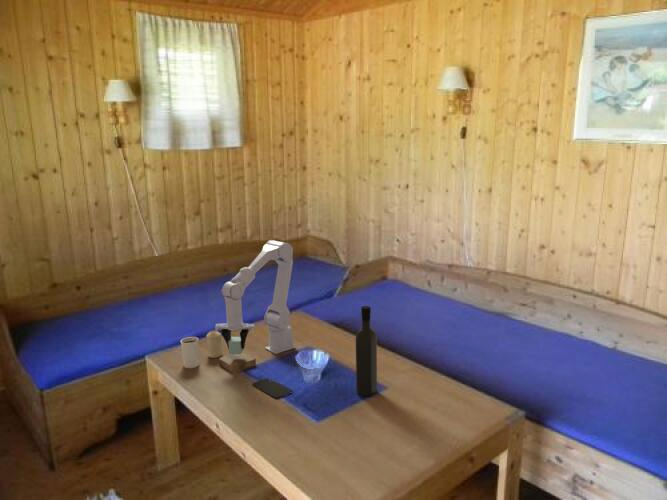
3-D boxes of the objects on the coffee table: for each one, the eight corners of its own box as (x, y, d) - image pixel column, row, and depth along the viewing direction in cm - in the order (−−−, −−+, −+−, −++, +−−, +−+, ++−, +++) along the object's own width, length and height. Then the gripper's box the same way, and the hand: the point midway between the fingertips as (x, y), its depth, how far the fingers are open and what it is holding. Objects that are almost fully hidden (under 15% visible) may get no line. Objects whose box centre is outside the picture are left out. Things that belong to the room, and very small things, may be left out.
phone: (267, 377, 195) (294, 390, 185) (268, 379, 196) (294, 393, 185) (250, 383, 191) (276, 398, 180) (250, 386, 191) (276, 400, 180)
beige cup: (203, 362, 210) (201, 337, 208) (195, 369, 204) (192, 344, 202) (188, 360, 212) (186, 336, 210) (179, 367, 206) (176, 342, 204)
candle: (220, 358, 214) (218, 333, 211) (206, 358, 214) (204, 334, 212) (223, 352, 219) (221, 328, 217) (209, 352, 219) (208, 328, 217)
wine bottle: (363, 387, 187) (362, 303, 180) (378, 390, 184) (377, 306, 178) (355, 394, 182) (353, 308, 176) (370, 398, 179) (369, 311, 173)
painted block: (232, 349, 208) (231, 336, 207) (243, 349, 208) (243, 337, 207) (229, 354, 204) (228, 341, 203) (240, 354, 203) (240, 341, 202)
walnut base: (242, 358, 214) (241, 351, 213) (256, 366, 207) (255, 358, 206) (219, 365, 208) (218, 358, 207) (232, 374, 200) (232, 366, 200)
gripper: (211, 317, 199) (214, 351, 202) (250, 317, 198) (252, 352, 201) (217, 310, 206) (219, 344, 209) (255, 311, 205) (257, 345, 208)
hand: (236, 348), depth 206 cm, fingers closed on painted block, 4 cm apart
